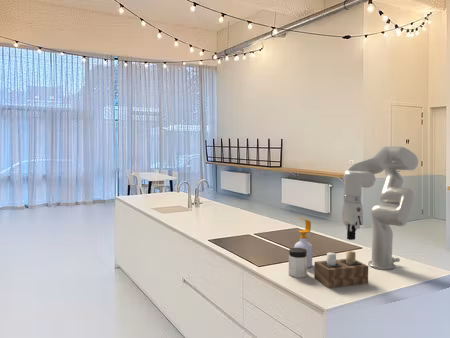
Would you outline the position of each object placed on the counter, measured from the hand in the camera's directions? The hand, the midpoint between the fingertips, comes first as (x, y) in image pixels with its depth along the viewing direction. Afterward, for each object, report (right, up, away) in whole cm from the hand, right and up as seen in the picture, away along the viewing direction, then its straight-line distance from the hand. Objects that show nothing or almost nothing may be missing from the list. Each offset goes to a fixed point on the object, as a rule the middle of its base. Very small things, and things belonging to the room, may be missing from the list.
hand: (351, 239), depth 171 cm
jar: (-23, -19, +9) cm, 31 cm away
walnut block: (-5, -19, 0) cm, 20 cm away
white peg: (-9, -14, -1) cm, 17 cm away
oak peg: (0, -14, +1) cm, 14 cm away
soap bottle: (-17, -18, +23) cm, 34 cm away
